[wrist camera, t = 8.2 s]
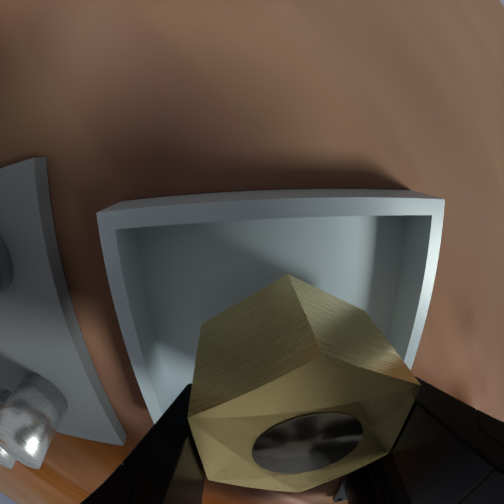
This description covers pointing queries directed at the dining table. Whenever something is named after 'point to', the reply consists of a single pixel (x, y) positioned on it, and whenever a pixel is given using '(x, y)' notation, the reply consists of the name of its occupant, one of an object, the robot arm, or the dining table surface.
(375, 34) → the dining table surface
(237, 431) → the brass nut
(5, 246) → the spacer posts
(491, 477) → the robot arm
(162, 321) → the tray
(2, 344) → the spacer board
